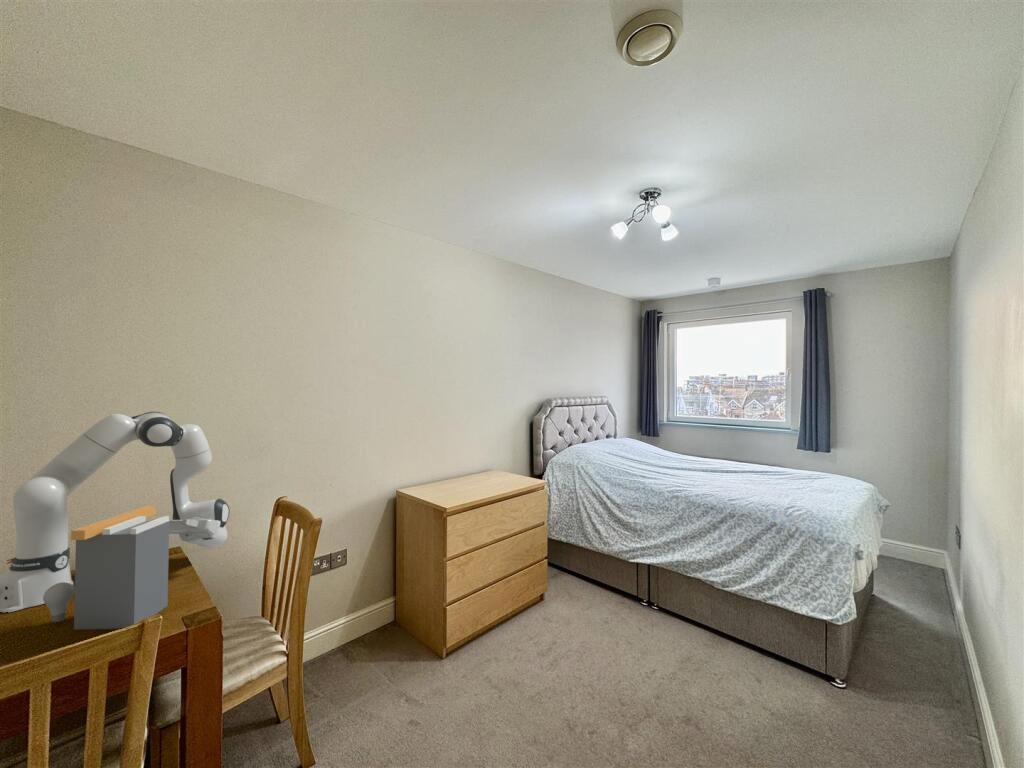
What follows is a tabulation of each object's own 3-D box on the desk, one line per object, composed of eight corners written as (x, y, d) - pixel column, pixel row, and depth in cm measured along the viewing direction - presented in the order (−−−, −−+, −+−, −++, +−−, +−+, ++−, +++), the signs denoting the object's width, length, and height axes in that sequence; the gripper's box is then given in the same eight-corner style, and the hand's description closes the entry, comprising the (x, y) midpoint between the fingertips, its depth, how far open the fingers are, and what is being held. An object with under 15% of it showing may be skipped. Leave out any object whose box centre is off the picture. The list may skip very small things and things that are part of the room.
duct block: (73, 629, 115) (76, 529, 116) (113, 607, 127) (115, 516, 128) (133, 628, 116) (136, 528, 116) (167, 606, 128) (169, 516, 128)
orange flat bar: (70, 539, 112) (71, 530, 112) (145, 513, 136) (145, 506, 136) (84, 539, 112) (84, 530, 112) (156, 513, 136) (156, 505, 136)
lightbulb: (39, 630, 115) (40, 590, 115) (46, 620, 120) (47, 582, 120) (70, 623, 118) (71, 584, 118) (76, 614, 123) (77, 576, 123)
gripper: (169, 521, 157) (143, 512, 145) (225, 521, 158) (203, 511, 146) (162, 539, 154) (135, 531, 142) (219, 538, 155) (197, 530, 143)
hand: (170, 521), depth 144 cm, fingers open, 8 cm apart
